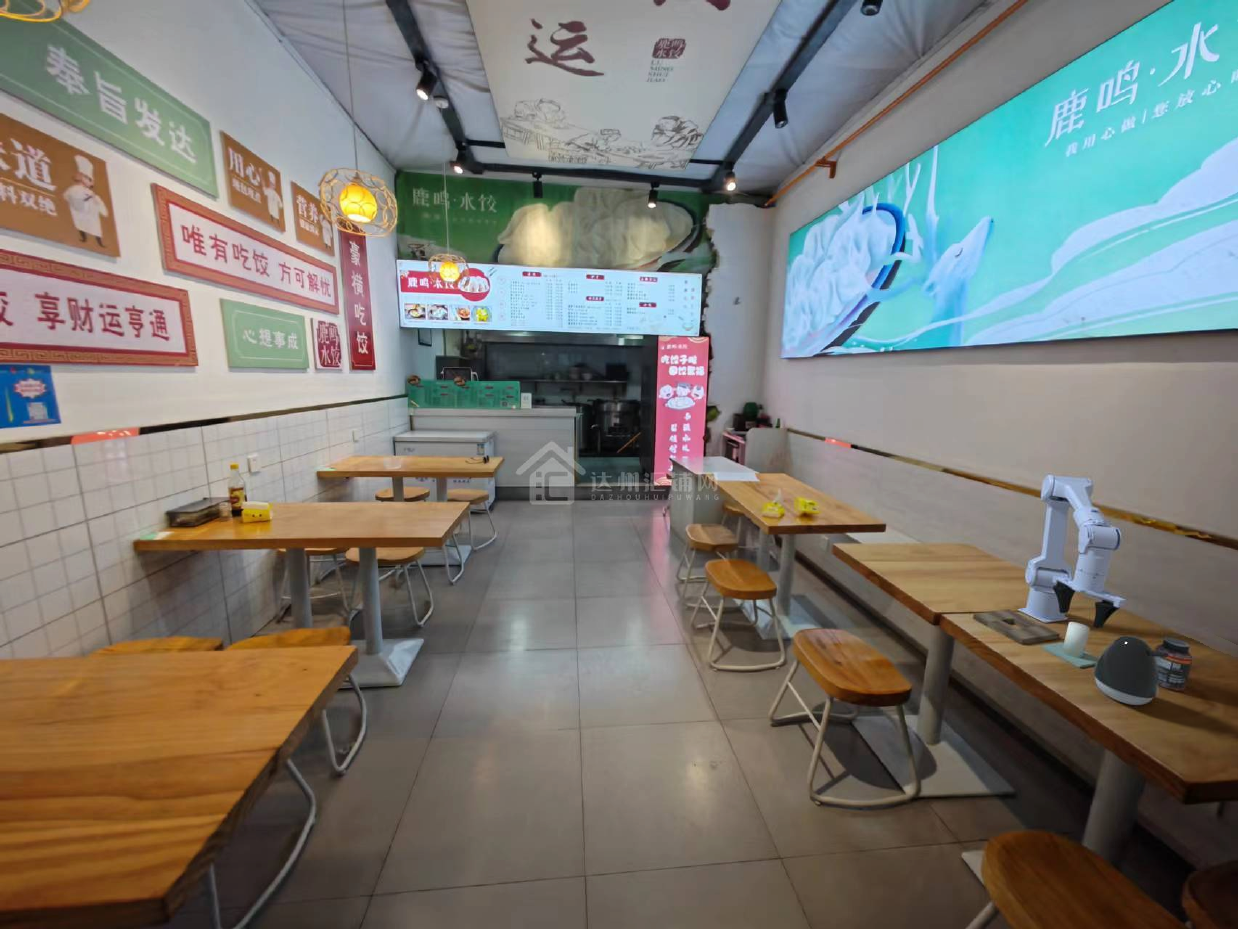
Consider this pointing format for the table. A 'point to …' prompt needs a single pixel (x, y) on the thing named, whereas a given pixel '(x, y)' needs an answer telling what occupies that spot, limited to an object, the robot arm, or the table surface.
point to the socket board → (1029, 629)
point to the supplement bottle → (1174, 664)
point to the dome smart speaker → (1129, 671)
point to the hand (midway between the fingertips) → (1080, 619)
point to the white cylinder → (1076, 639)
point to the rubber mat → (1079, 662)
